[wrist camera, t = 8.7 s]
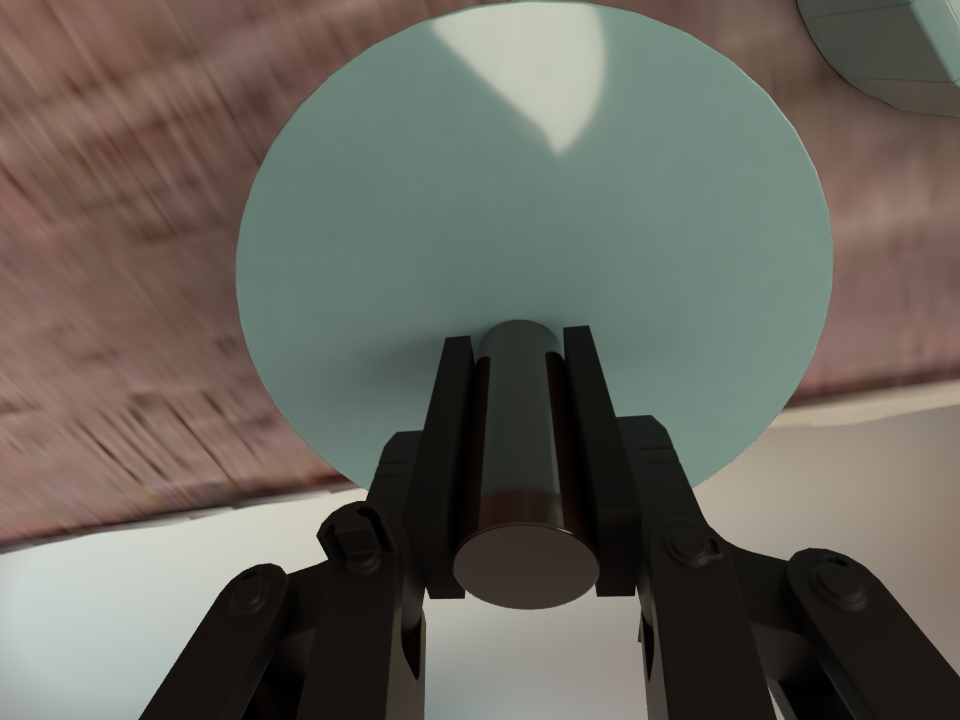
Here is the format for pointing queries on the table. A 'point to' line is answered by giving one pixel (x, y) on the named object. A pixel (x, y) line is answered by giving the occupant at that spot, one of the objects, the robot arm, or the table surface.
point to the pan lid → (534, 261)
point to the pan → (893, 49)
